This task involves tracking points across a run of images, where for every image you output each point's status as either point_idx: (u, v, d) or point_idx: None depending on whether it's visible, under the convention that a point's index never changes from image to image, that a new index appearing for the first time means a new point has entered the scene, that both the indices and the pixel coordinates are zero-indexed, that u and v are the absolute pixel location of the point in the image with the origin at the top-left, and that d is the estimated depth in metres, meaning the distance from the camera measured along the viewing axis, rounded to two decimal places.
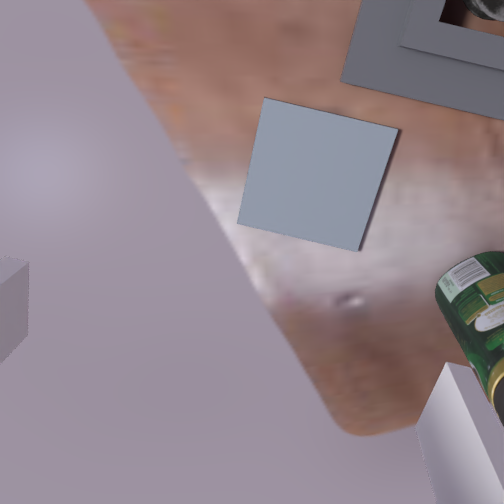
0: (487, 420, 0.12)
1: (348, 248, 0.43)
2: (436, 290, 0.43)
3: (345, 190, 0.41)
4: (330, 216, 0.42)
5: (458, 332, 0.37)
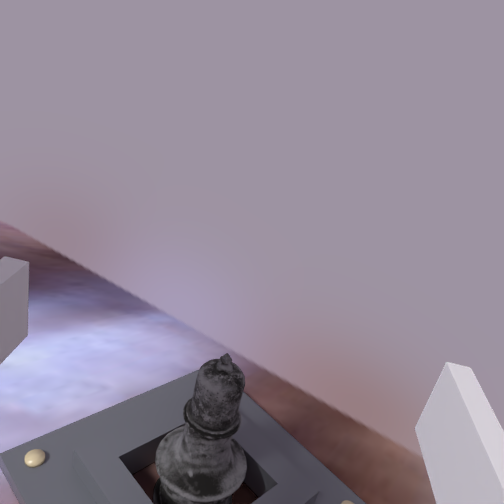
0: (487, 420, 0.12)
1: None
2: None
3: None
4: None
5: None
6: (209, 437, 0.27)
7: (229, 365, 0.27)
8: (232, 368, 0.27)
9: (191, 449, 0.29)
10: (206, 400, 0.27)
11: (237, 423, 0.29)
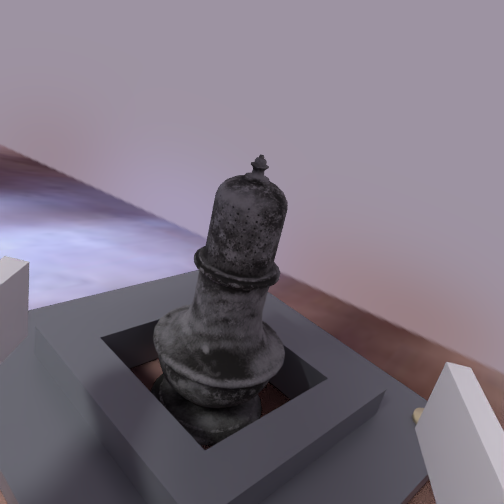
0: (487, 420, 0.12)
1: None
2: None
3: None
4: None
5: None
6: (235, 286, 0.18)
7: (264, 176, 0.18)
8: None
9: (205, 313, 0.19)
10: (231, 224, 0.18)
11: (275, 273, 0.19)
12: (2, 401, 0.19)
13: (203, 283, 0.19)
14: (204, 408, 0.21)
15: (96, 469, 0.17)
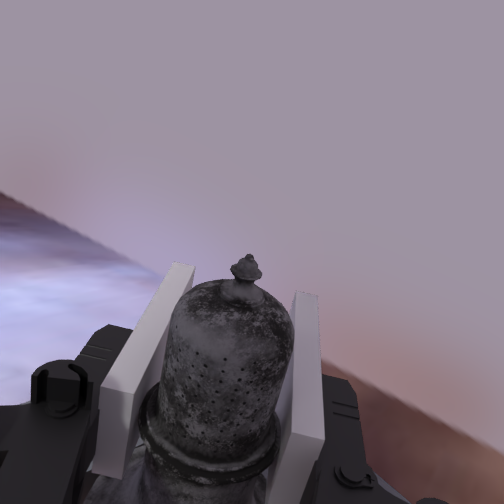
0: (309, 330, 0.14)
1: None
2: None
3: None
4: None
5: None
6: (204, 480, 0.10)
7: (255, 288, 0.10)
8: (262, 296, 0.10)
9: None
10: (194, 380, 0.10)
11: (274, 440, 0.11)
12: None
13: (153, 458, 0.11)
14: None
15: None
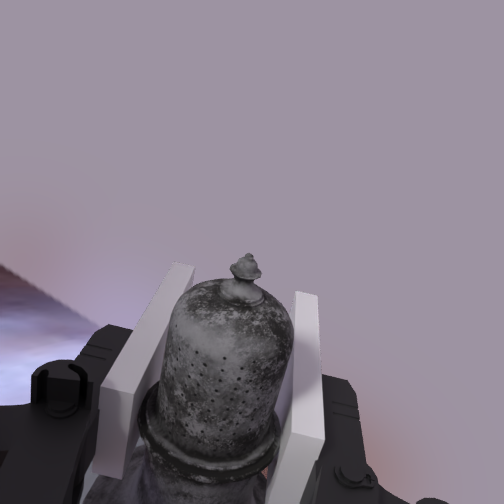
0: (309, 330, 0.14)
1: None
2: None
3: None
4: None
5: None
6: (203, 479, 0.10)
7: (254, 288, 0.10)
8: (261, 296, 0.10)
9: None
10: (194, 379, 0.10)
11: (273, 438, 0.12)
12: None
13: (152, 457, 0.11)
14: None
15: None
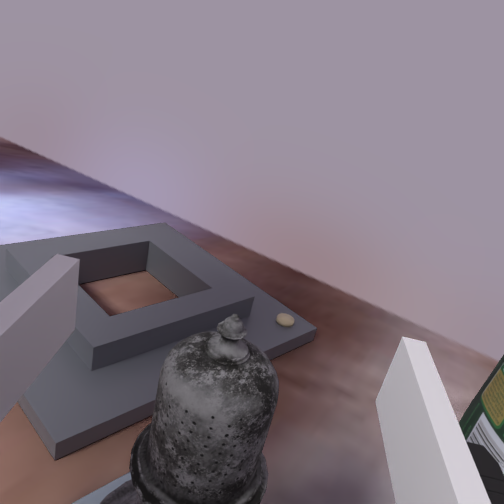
0: (433, 387, 0.13)
1: None
2: None
3: None
4: None
5: None
6: None
7: (240, 344, 0.11)
8: (248, 351, 0.11)
9: None
10: (184, 435, 0.10)
11: (260, 482, 0.12)
12: None
13: (144, 502, 0.12)
14: None
15: None
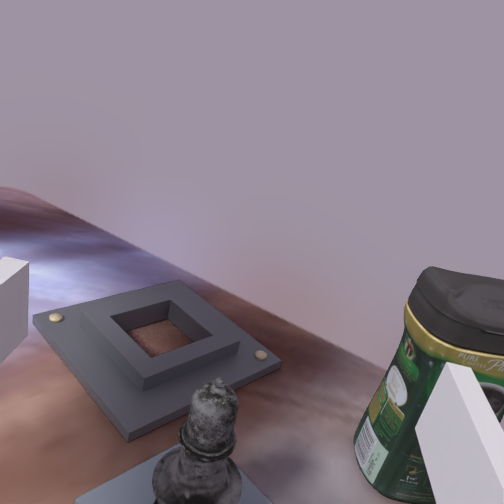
0: (487, 420, 0.12)
1: None
2: (380, 487, 0.37)
3: None
4: None
5: (415, 432, 0.35)
6: (205, 459, 0.28)
7: (223, 388, 0.28)
8: (226, 391, 0.28)
9: (187, 471, 0.29)
10: (201, 423, 0.27)
11: (232, 444, 0.29)
12: (69, 341, 0.45)
13: (185, 452, 0.29)
14: None
15: (108, 365, 0.43)
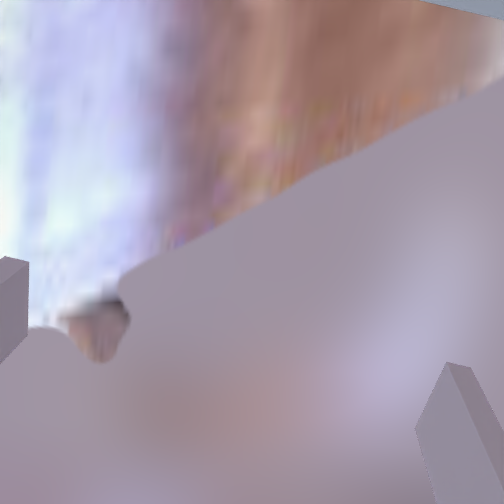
0: (487, 420, 0.12)
1: None
2: None
3: None
4: None
5: None
6: None
7: None
8: None
9: None
10: None
11: None
12: None
13: None
14: None
15: None
